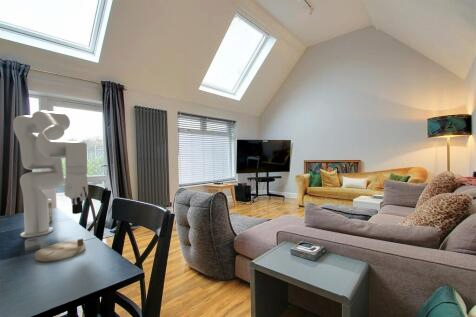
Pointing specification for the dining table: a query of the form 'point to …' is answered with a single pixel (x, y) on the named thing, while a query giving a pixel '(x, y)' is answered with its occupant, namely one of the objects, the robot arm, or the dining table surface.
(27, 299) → the dining table surface
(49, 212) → the sprinkles bottle
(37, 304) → the dining table surface
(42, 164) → the robot arm
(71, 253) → the turntable
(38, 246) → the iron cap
